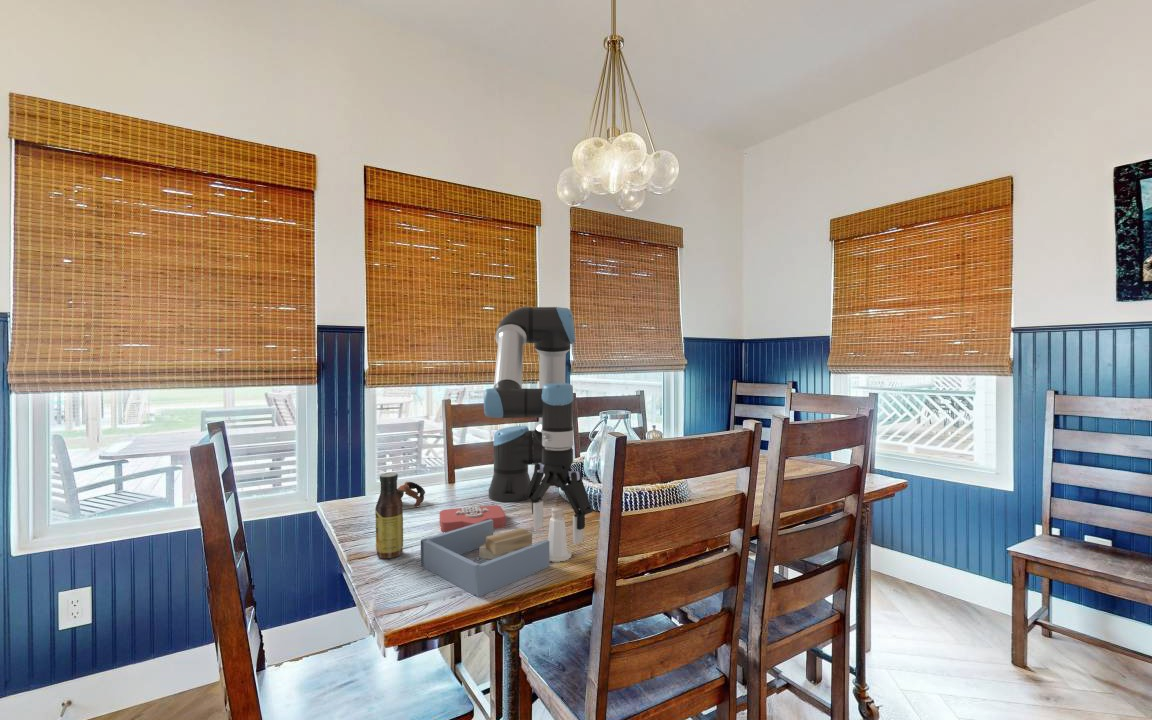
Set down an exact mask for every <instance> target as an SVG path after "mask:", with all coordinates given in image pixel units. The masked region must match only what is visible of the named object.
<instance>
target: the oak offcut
mask: <svg viewBox="0 0 1152 720" xmlns="http://www.w3.org/2000/svg"><path fill="white" fill-rule="evenodd" d="M530 545H533V533H532V532H530V531H528V530H526V529H525V528H522V527H521V528H516V529H512V530H508V531H504V532H500V533H497V534H493V535H491V536H487V537H486V549H487V550H489V551H490V552H492V553H493V554H494V555H497V554H501V553H505V552H509V551H512V550H516V549H520V548H523V547H527V546H530Z"/></svg>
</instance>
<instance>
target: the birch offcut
mask: <svg viewBox="0 0 1152 720" xmlns="http://www.w3.org/2000/svg"><path fill="white" fill-rule="evenodd" d="M527 547H528V546H527ZM523 548H525V547H523ZM478 549H479V550H478V551H479V552H478V553H479V555H478V556H479V558H480V559H488V560H492V559H495V558H498V557H500V556H503V555H506V554H509V553H511V552H514V551H517V550H519V549H516V550H512V551H509V552H505V553H501V554H497V555H494V554H493V553H492V552H490V551H489V550H487V549H486V543H485V544H483V545H482V546H480V547H479V548H478ZM520 549H522V548H520Z"/></svg>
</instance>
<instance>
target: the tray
mask: <svg viewBox="0 0 1152 720" xmlns="http://www.w3.org/2000/svg"><path fill="white" fill-rule="evenodd" d="M491 535H494V528H493V520H491V519H489V520H486V521H483V522H479V523H476V524H473V525H469V526H466V527H463V528H459V529H456V530H452V531H449V532H446V533H444V532H441V533H439V534H437V535H433V536H430V537H426V538H422V539H420V566H421V567H422V568H424V569H425V570H428V571H430V572H431V573H434V574H435V575H437V576H439V577H441V578H442V579H444V580H446V581H448V582H450V583H451V584H453V585H455V586H457V587H458V588H460V589H463V590H464V591H466V592H468V593H470V594H471V595H473V596H475V597H477V598H479V597H482V596H484V595H487V594H489V593H492V592H494V591H496V590H498V589H501V588H503V587H507V585H511V584H513V583H515V582H517V581H519V580H522V579H525V578H527V577H529V576H531V574H532V575H533V573H534V574H536V573H539V572H541V571H543V570H546V569H548V568H550V562H549V541H548V539H544V540H541V541H538V542H536V543H532V545H530V546H528V547H525V548H522V549H519V550H517V551H514V552H511V553H509V554H506V555H503V556H500V557H498V558H495V559H489V560H486V561H485V562H482V563H477V562H475V561H474V560H471V559H469V558H467V557H465V556H463V555H464V554H467V553H469V552H473V551H476V550H478V549H479V547H480V546H482V545H483V544H485V543H486V537H487V536H491ZM547 567H548V568H547ZM545 568H546V569H545ZM542 569H543V570H542ZM540 570H541V571H540ZM538 571H539V572H538ZM535 572H536V573H535ZM526 576H527V577H526Z"/></svg>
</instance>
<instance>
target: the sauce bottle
mask: <svg viewBox="0 0 1152 720" xmlns="http://www.w3.org/2000/svg"><path fill="white" fill-rule="evenodd" d="M379 481H380V491H379V492H380V494H379V497H378V499H377V502H376V505H375V507H374V508H375V509H374V510H375V511H374V512H375V550H376V554H377V555H376V556H377V557H378V558H380V559H394V558H397V557H399V556H400V555H402V554H403V551H404V550H403V549H404V548H403V547H404V511H403V500H402V498H400V496H399V495H398V493H397V489H398V473H397V472H393V471H392V472H385V473H381V474H380V475H379Z"/></svg>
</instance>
